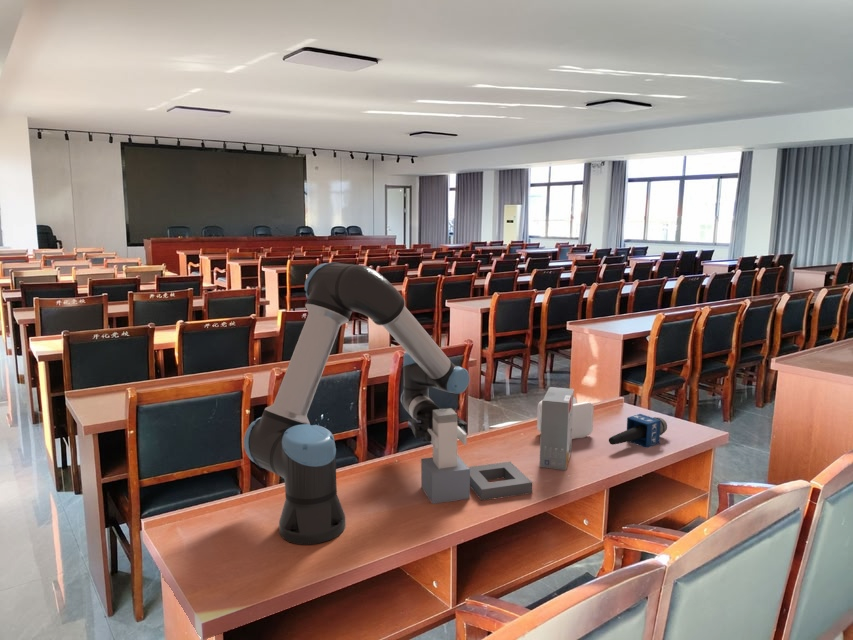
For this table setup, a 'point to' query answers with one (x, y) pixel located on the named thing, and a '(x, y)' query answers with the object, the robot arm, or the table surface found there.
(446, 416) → the plug
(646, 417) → the microphone
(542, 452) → the hard drive box
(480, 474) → the socket block
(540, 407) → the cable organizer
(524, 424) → the table surface
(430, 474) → the stand
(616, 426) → the table surface
